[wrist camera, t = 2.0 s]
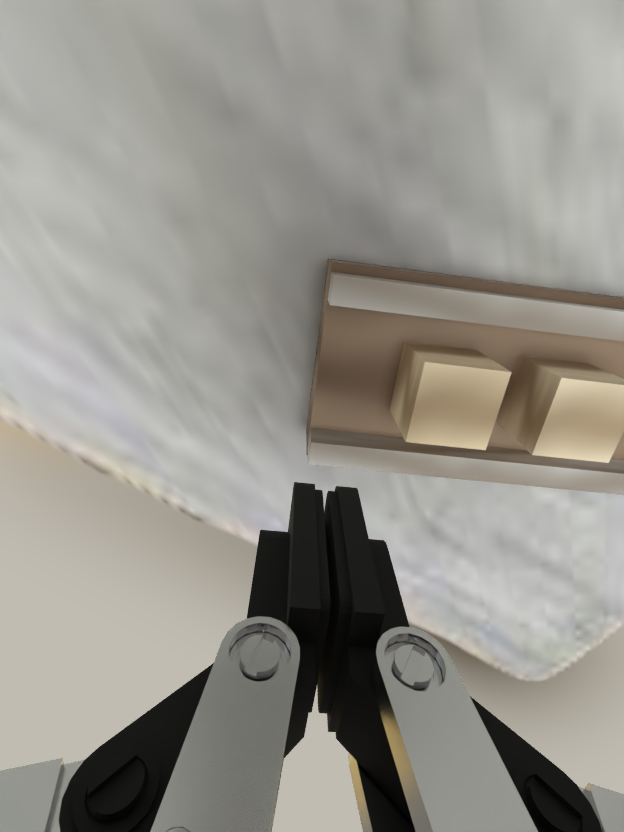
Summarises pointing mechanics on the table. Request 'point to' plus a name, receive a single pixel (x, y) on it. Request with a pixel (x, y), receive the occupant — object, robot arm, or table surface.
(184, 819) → the robot arm
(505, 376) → the tan wooden cube
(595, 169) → the table surface
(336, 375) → the brown wooden channel
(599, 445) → the pale yellow cube
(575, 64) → the table surface
